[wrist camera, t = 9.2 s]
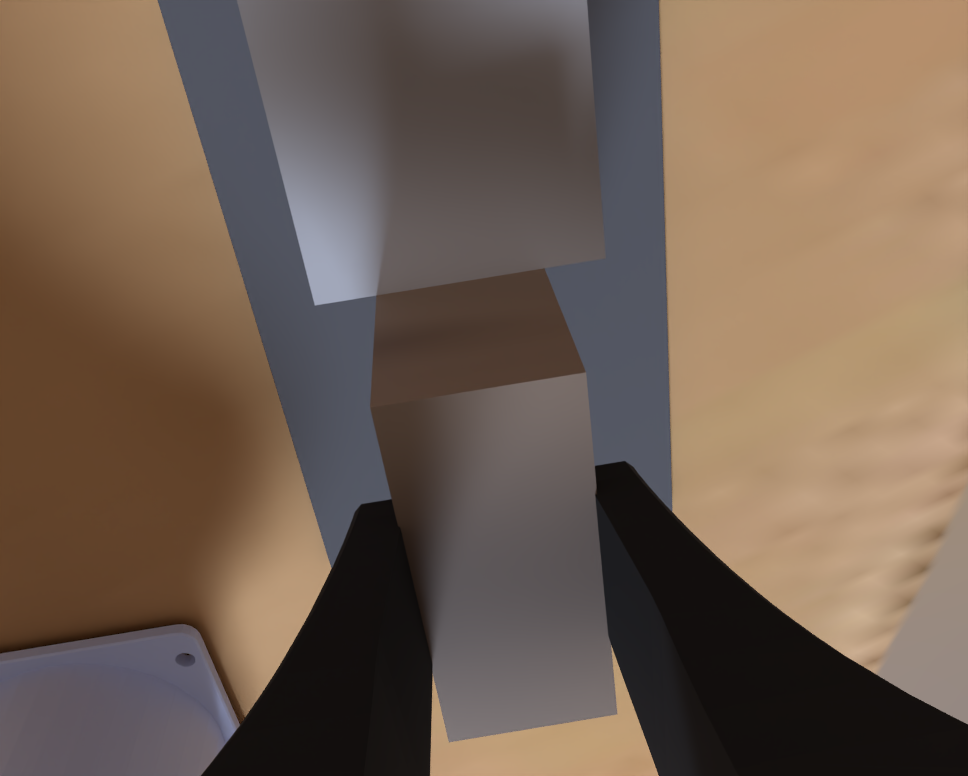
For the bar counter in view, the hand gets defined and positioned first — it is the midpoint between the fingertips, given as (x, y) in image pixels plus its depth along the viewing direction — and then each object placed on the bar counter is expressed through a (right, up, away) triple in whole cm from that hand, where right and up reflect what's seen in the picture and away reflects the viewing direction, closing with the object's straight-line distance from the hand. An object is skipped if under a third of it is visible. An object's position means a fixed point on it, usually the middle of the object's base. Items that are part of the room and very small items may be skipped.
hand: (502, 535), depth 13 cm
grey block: (-1, +4, +1) cm, 4 cm away
